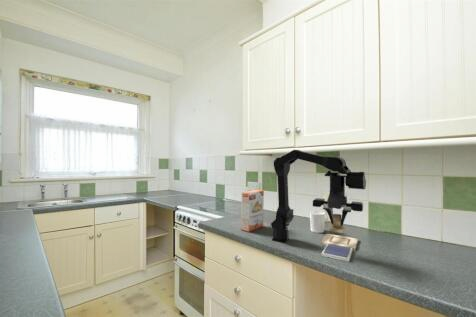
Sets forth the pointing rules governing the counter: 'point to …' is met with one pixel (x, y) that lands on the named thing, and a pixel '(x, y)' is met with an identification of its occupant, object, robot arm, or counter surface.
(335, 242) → the board
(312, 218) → the white cup
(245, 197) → the cracker box
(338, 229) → the stamp
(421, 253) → the counter surface
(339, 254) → the ink pad
